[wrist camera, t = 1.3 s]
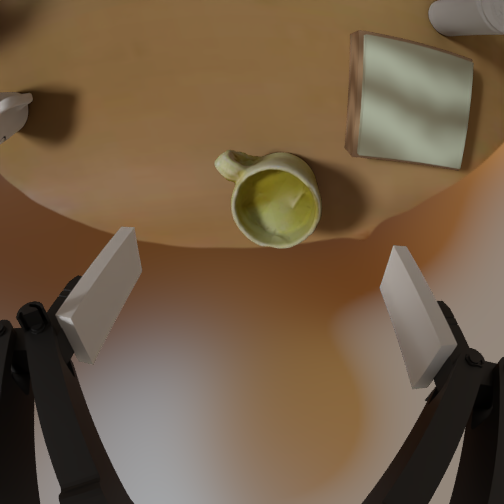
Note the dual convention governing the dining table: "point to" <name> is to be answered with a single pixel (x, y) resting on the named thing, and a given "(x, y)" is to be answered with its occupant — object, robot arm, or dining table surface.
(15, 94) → the mug
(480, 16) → the beverage can
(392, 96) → the podium
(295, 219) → the mug
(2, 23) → the dining table surface
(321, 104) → the dining table surface
